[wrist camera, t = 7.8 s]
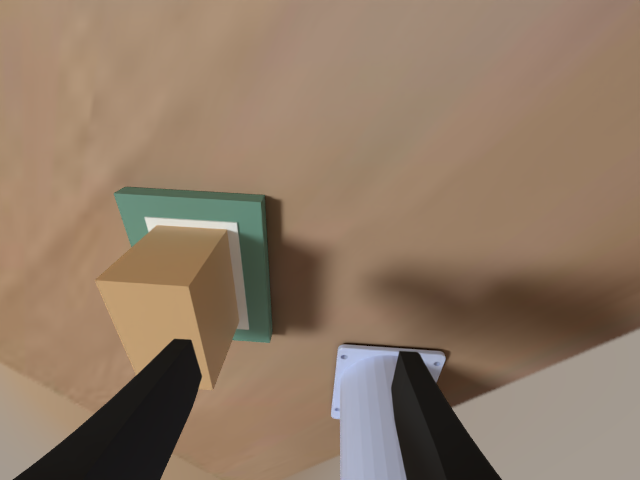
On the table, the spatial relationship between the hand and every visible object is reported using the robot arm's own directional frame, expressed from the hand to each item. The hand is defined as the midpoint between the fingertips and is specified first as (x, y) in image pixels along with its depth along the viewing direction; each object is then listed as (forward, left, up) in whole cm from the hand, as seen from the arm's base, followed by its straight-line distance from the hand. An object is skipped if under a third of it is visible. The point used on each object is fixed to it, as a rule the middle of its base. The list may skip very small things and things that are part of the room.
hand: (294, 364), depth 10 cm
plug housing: (-3, +7, -8) cm, 11 cm away
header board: (-3, +7, -9) cm, 11 cm away
